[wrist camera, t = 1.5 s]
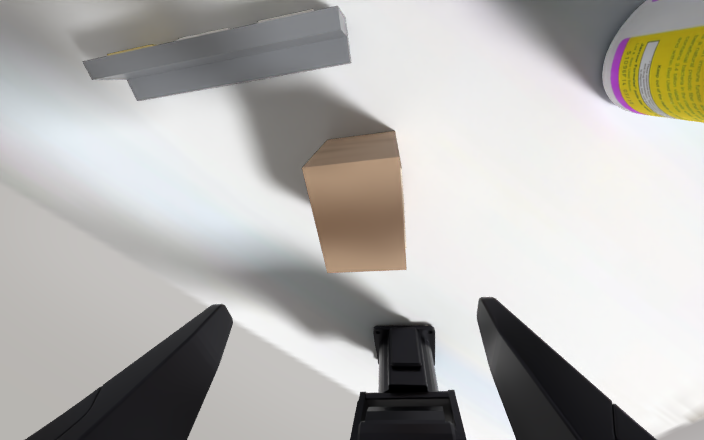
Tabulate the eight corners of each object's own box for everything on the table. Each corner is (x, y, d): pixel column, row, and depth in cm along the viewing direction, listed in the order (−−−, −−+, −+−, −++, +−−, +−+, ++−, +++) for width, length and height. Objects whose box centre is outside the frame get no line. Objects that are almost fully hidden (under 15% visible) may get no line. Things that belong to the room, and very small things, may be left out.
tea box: (401, 216, 22) (408, 269, 16) (341, 220, 23) (325, 273, 17) (396, 130, 19) (401, 156, 13) (326, 139, 20) (299, 168, 13)
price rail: (345, 13, 16) (337, 0, 13) (351, 63, 17) (345, 60, 14) (123, 60, 18) (80, 57, 16) (142, 100, 20) (105, 103, 17)
